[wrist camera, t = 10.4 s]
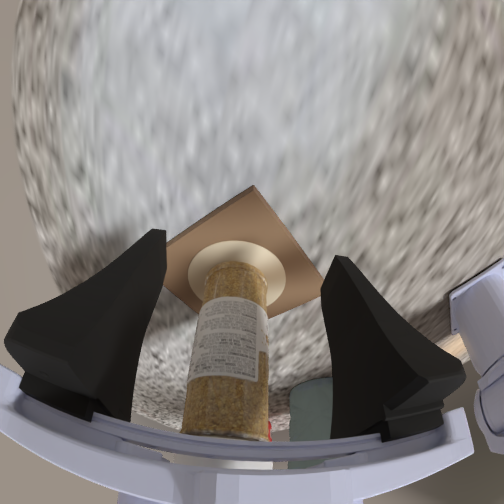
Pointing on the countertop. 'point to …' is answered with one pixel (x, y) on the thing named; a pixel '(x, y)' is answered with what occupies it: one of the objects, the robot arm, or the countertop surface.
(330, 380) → the grey-green tapered cup
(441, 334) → the countertop surface
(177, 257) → the spice coaster
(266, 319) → the spice jar
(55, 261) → the countertop surface
